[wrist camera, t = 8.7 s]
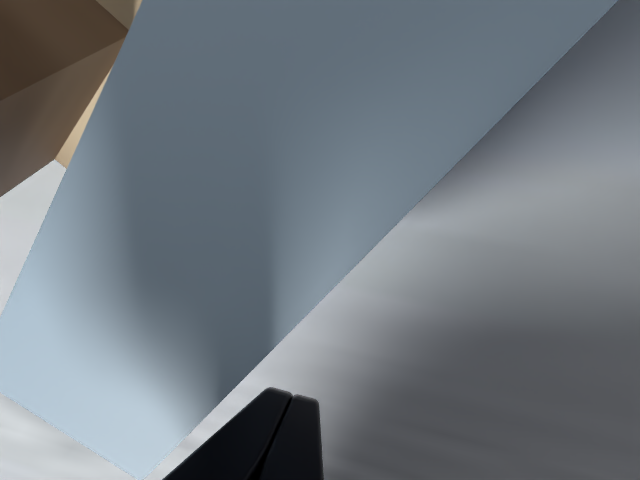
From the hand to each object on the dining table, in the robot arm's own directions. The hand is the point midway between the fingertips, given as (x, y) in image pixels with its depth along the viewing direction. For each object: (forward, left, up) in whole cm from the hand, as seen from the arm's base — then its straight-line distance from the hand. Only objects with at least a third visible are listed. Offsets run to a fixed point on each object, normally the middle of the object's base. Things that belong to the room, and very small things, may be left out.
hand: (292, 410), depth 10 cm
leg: (+3, +3, -2) cm, 5 cm away
